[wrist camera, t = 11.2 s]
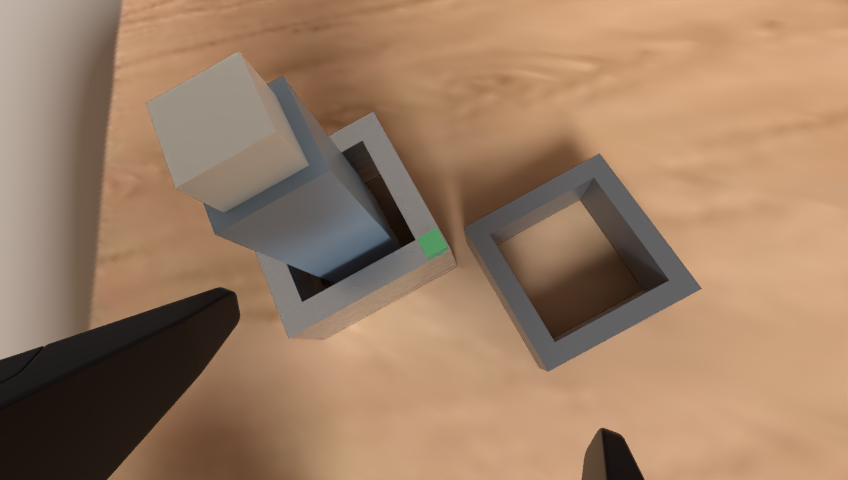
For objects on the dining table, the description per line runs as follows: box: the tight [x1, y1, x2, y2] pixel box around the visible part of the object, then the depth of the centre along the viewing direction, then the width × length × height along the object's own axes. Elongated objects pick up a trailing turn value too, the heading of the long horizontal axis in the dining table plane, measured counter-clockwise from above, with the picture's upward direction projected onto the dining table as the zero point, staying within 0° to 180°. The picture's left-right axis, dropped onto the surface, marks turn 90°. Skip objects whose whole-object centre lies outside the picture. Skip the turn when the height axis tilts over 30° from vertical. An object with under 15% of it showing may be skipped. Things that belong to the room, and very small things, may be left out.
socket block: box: [255, 112, 458, 340], centre depth 21 cm, size 8×8×4 cm
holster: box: [464, 153, 702, 371], centre depth 20 cm, size 7×7×3 cm
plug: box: [146, 51, 401, 284], centre depth 17 cm, size 4×4×13 cm
